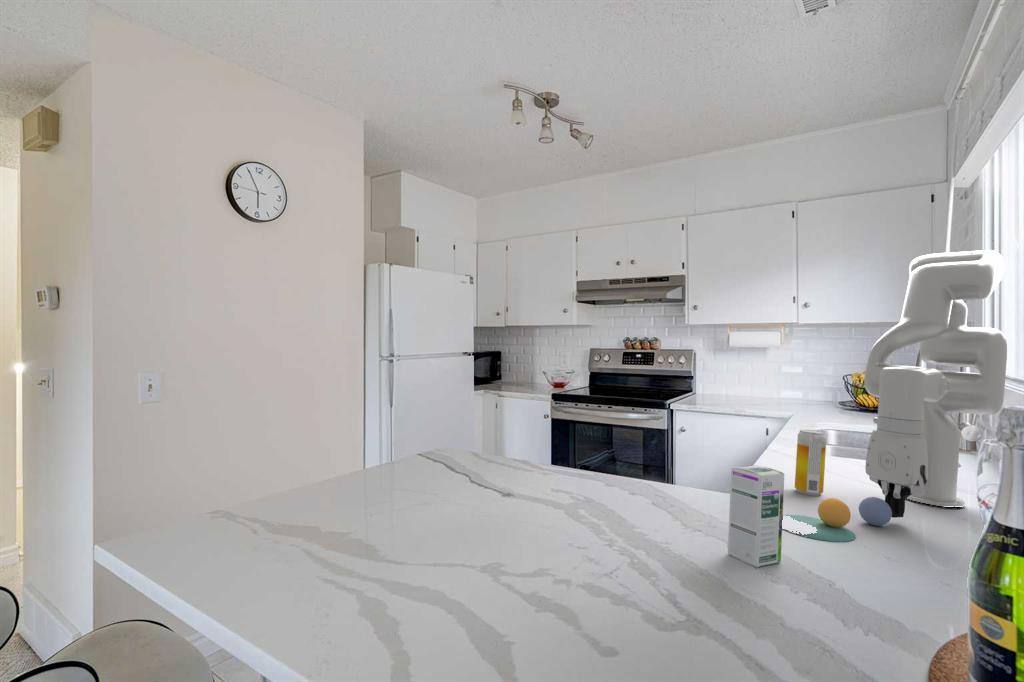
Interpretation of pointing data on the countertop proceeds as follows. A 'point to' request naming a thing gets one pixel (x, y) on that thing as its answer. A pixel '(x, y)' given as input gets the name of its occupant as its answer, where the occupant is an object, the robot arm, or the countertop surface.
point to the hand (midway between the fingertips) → (894, 515)
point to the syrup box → (756, 515)
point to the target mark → (825, 530)
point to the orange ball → (834, 512)
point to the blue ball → (875, 511)
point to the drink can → (810, 462)
